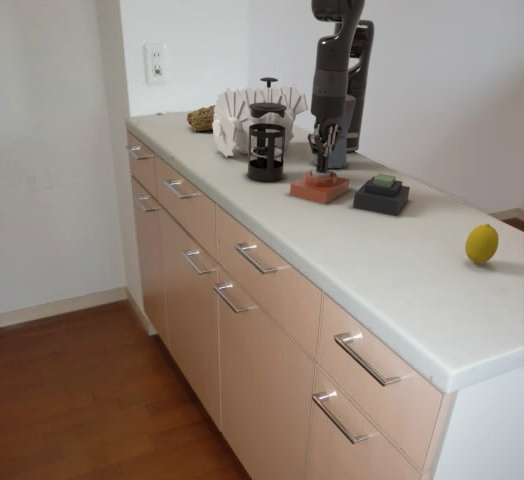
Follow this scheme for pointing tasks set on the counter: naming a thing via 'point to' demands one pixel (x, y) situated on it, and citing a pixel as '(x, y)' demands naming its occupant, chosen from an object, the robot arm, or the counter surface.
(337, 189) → the orange button block
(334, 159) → the moka pot
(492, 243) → the lemon
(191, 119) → the sponge
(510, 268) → the counter surface
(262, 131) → the french press
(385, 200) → the dark square push button
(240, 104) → the spiral staircase
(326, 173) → the pale grey round puck
